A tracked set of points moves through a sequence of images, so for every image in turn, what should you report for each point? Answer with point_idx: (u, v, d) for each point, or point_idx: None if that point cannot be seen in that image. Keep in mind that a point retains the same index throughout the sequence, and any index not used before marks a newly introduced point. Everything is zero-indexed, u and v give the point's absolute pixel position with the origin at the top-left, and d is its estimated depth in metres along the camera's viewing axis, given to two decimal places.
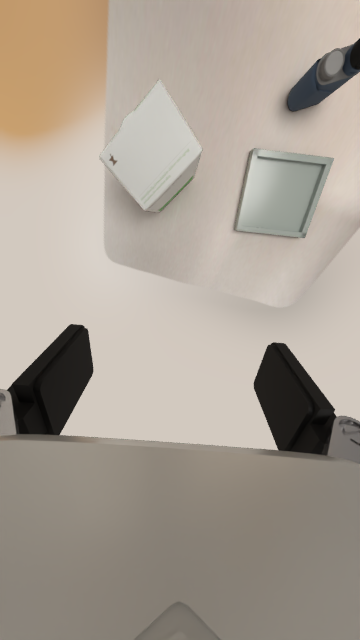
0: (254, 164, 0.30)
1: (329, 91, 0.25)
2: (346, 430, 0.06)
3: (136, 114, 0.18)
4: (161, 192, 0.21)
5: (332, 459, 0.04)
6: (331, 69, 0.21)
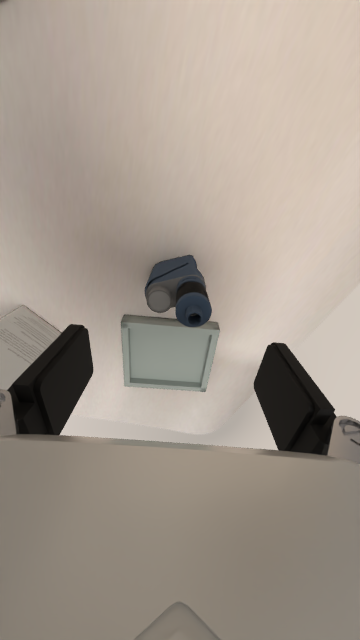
0: (126, 335, 0.25)
1: None
2: (346, 430, 0.06)
3: None
4: None
5: (332, 459, 0.04)
6: (157, 307, 0.16)
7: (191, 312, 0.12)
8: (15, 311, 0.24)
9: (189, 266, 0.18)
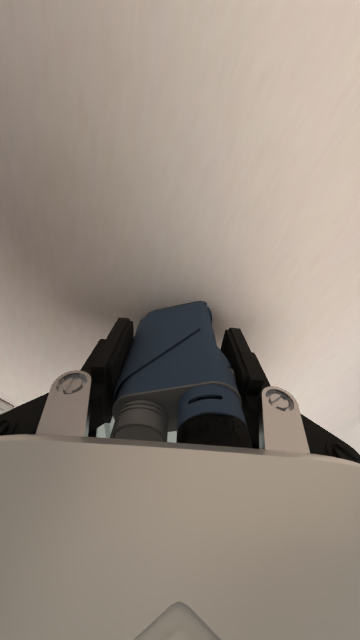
0: None
1: None
2: (272, 399, 0.07)
3: None
4: None
5: (332, 459, 0.04)
6: None
7: None
8: None
9: (203, 340, 0.09)
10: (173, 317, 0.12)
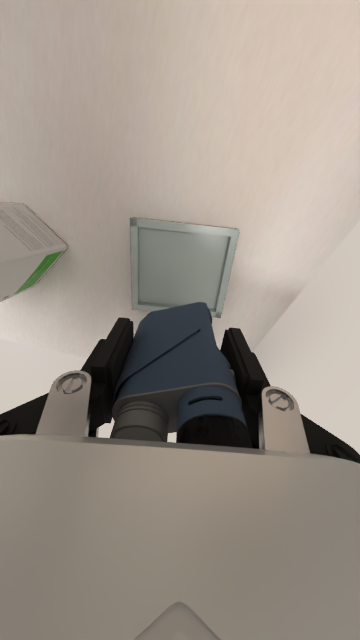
0: (135, 236, 0.23)
1: None
2: (272, 399, 0.07)
3: None
4: None
5: (332, 459, 0.04)
6: None
7: None
8: (14, 203, 0.22)
9: (203, 341, 0.09)
10: (173, 318, 0.12)
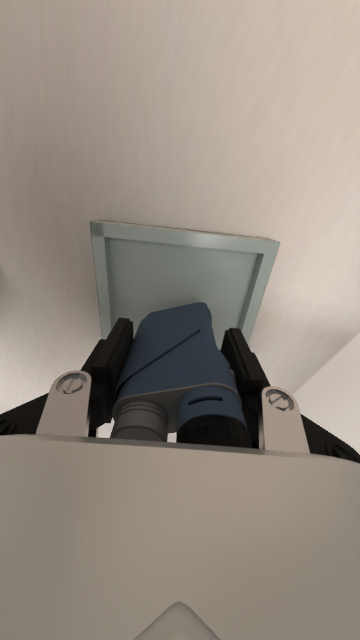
0: (102, 253, 0.13)
1: None
2: (272, 399, 0.07)
3: None
4: None
5: (332, 459, 0.04)
6: None
7: None
8: None
9: (203, 341, 0.09)
10: (173, 318, 0.12)
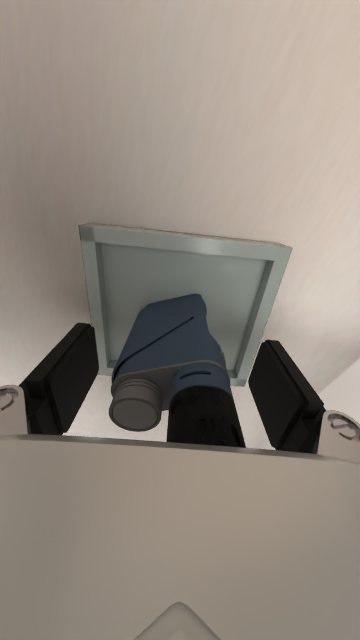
0: (93, 260, 0.12)
1: None
2: (335, 424, 0.06)
3: None
4: None
5: (332, 459, 0.04)
6: (132, 423, 0.08)
7: None
8: None
9: (196, 327, 0.10)
10: (169, 308, 0.13)
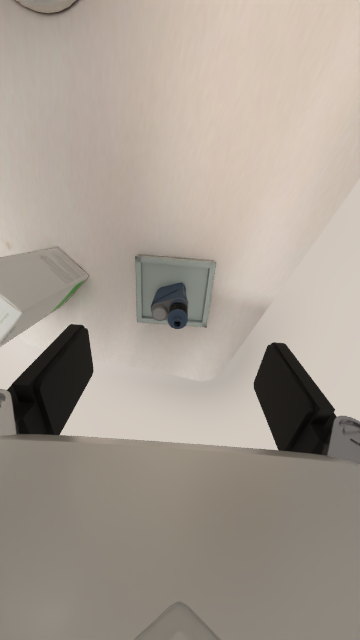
0: (139, 269, 0.31)
1: None
2: (346, 430, 0.06)
3: None
4: None
5: (332, 459, 0.04)
6: (158, 317, 0.27)
7: (175, 320, 0.22)
8: (52, 248, 0.30)
9: (178, 291, 0.29)
10: (169, 287, 0.31)
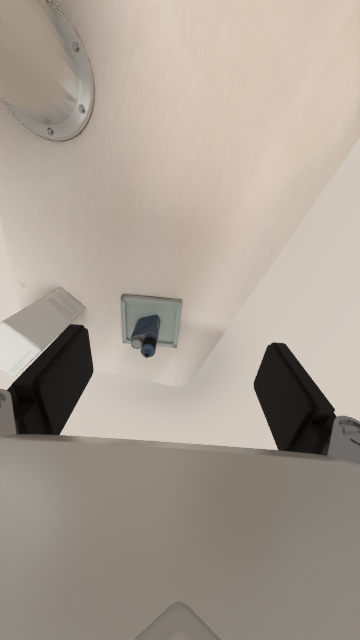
0: (124, 306, 0.41)
1: None
2: (346, 430, 0.06)
3: None
4: (21, 368, 0.31)
5: (332, 459, 0.04)
6: (136, 346, 0.37)
7: (145, 352, 0.33)
8: (57, 290, 0.40)
9: (152, 325, 0.39)
10: (146, 319, 0.42)
